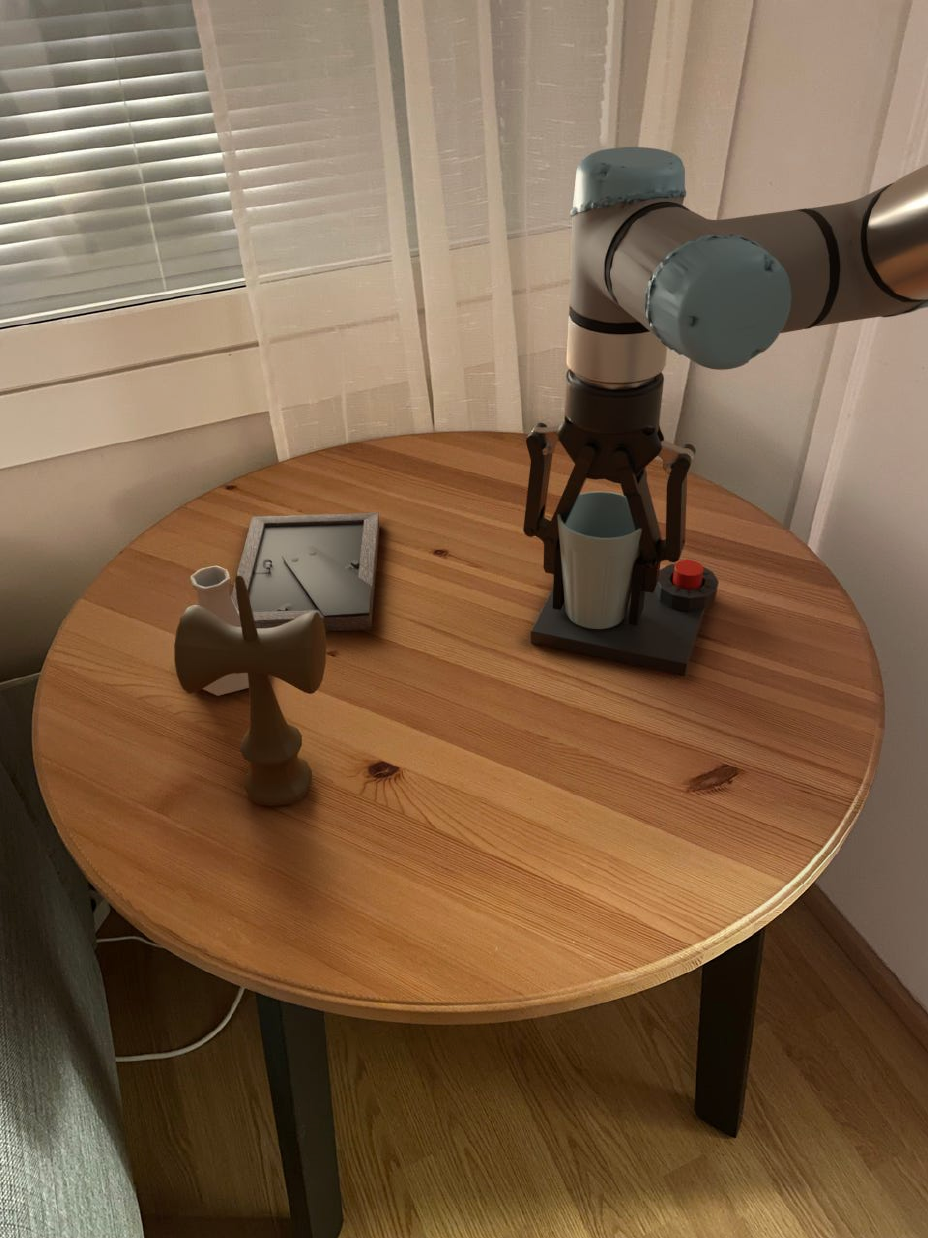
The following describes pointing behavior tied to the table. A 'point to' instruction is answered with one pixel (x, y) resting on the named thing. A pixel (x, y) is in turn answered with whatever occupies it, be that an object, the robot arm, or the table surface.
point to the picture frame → (311, 569)
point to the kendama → (257, 686)
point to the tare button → (688, 574)
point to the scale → (637, 627)
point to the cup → (598, 559)
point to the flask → (219, 602)
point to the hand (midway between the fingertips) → (597, 608)
